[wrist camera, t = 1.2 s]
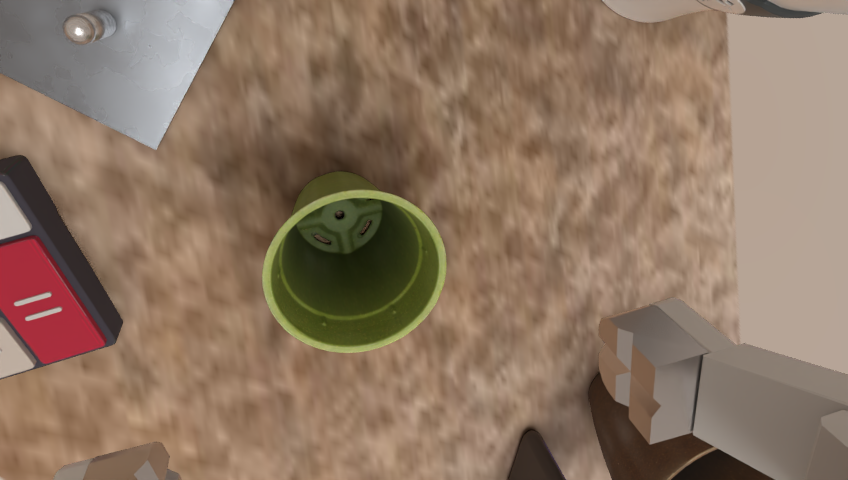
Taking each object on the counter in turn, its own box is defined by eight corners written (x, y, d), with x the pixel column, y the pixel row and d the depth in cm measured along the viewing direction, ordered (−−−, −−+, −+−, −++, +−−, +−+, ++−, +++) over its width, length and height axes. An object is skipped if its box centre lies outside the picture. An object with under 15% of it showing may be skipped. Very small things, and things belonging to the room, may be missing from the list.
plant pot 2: (537, 375, 58) (619, 503, 44) (659, 305, 58) (780, 411, 44) (580, 454, 66) (662, 585, 52) (689, 392, 65) (801, 506, 51)
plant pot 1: (402, 274, 49) (434, 350, 39) (264, 274, 46) (261, 356, 36) (419, 145, 44) (460, 194, 34) (266, 134, 41) (263, 186, 31)
